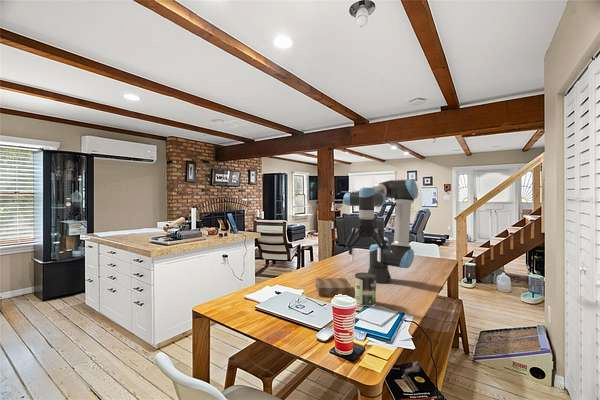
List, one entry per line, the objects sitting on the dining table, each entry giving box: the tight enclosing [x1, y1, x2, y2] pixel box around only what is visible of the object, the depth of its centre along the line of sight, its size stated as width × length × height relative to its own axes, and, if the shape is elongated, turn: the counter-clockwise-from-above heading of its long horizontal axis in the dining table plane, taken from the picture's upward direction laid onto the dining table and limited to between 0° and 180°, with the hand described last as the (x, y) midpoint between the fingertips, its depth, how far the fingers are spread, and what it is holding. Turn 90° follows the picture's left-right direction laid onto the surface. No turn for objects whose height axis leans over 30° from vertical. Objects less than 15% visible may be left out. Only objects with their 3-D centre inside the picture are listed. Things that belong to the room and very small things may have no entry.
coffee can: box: [354, 272, 377, 307], centre depth 140 cm, size 10×10×14 cm
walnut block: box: [314, 277, 353, 297], centre depth 158 cm, size 18×18×4 cm
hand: (365, 261), depth 140 cm, fingers open, 13 cm apart
